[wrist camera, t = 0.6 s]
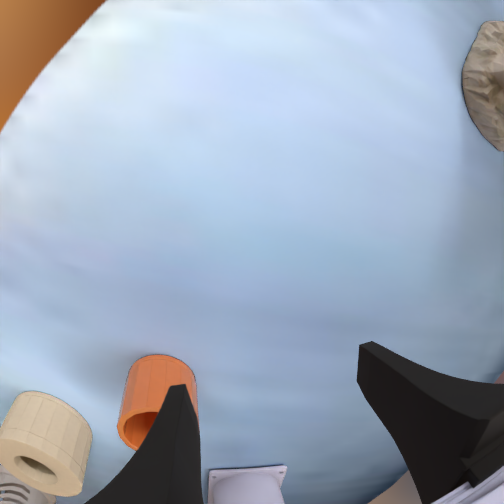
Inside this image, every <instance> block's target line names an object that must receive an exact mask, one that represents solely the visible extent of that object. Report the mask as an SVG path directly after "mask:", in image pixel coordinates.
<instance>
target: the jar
mask: <svg viewBox="0 0 504 504" xmlns="http://www.w3.org/2000/svg"><path fill="white" fill-rule="evenodd" d="M91 442H92V432H91V429H90V427H89V425H88V423H87V422H86V420H85V419H84V418H83V417H82V416H81V415H80V414H79V413H78V412H77V411H76V410H75V409H74V408H72V407H71V406H69V405H68V404H67V403H65V402H63V401H62V400H60V399H58V398H56V397H53V396H51V395H48V394H45V393H41V392H36V391H28V392H23V393H21V394H19V395H18V396H17V397H16V399H15V400H14V402H13V404H12V406H11V408H10V410H9V412H8V414H7V416H6V418H5V420H4V422H3V424H2V426H1V428H0V463H1V464H2V465H3V466H4V467H5V468H6V469H7V470H8V471H9V472H10V473H11V474H12V475H14V476H15V477H16V478H18V479H19V480H20V481H22V482H24V483H26V484H27V485H29V486H31V487H33V488H35V489H37V490H40V491H42V492H45V493H48V494H52V495H56V496H66V497H67V496H68V497H69V496H75V495H77V494H79V493H80V492H81V491H82V486H83V480H84V475H85V470H86V465H87V461H88V456H89V451H90V447H91Z"/></svg>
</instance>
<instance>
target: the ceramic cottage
mask: <svg viewBox="0 0 504 504" xmlns="http://www.w3.org/2000/svg"><path fill="white" fill-rule="evenodd" d="M462 79H463V84H462V85H463V87H462V88H463V91H464V98H465V101H466V106H467V107H468V110H469V114H470V116H471V118H472V120H473V121H474V123H475V124H476V127H478V129H479V130H480V132H481V133H482V135H483V136H485V138H486V139H487V140H489V142H490V143H491V144H493V146H495V147H496V148H497V149H498V150H499V151H504V21H486V22H484V23H483V25H481V28H480V30H479V32H478V37H476V40H475V41H474V43H473V45H472V47H471V51H470V52H469V53H468V56H467V58H466V62H465V64H464V66H463V72H462Z"/></svg>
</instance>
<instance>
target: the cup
mask: <svg viewBox="0 0 504 504" xmlns="http://www.w3.org/2000/svg"><path fill="white" fill-rule="evenodd" d="M180 384H186V387H187V390H188V393H189V396H190V398H191V401H192V404H193V407H194V410H195V413H196V415H197V419H198V426H199V417H198V403H197V387H196V380H195V376H194V374H193V372H192V370H191V369H190V368H189V367H188V366H187V365H186V364H185V363H183V362H182V361H180V360H178V359H176V358H174V357H170V356H166V355H150V356H146V357H143V358H141V359H139V360H137V361H136V362H135V363H134V364H133V365H132V366H131V368H130V369H129V372H128V376H127V379H126V383H125V388H124V393H123V397H122V402H121V407H120V412H119V418H118V423H117V429H118V433H119V436H120V438H121V439H122V440H123V441H124V443H125V444H126V445H127V446H129V447H130V448H132V449H133V450H135V451H137V450H138V448H139V447H140V445H141V444H142V442H143V440H144V439H145V437H146V435H147V433H148V432H149V430H150V428H151V426H152V425H153V423H154V421H155V419H156V416H157V414H158V412H159V410H160V408H161V406H162V404H163V401H164V399H165V396H166V394H167V391H168V388H169V387H170V386H172V385H180ZM199 434H200V430H199Z"/></svg>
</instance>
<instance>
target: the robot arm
mask: <svg viewBox="0 0 504 504" xmlns="http://www.w3.org/2000/svg"><path fill="white" fill-rule="evenodd" d="M357 382H358V384H359V386H360V389H361V391H362V393H363V394H364V396H365V398H366V400H367V401H368V403H369V404H370V406H371V407H372V409H373V410H374V412H375V413H376V414H377V416H378V417H379V419H380V420H381V421H382V423H383V424H384V426H385V427H386V429H387V430H388V431H389V433H390V434H391V436H392V438H393V439H394V441H395V443H396V445H397V446H398V448H399V450H400V452H401V454H402V456H403V458H404V460H405V462H406V465H407V467H408V469H409V471H410V473H411V476H412V478H413V480H414V483H415V485H416V488H417V490H418V493H419V496H420V499H421V502H422V504H504V384H492V383H482V382H475V381H469V380H464V379H460V378H456V377H452V376H448V375H445V374H442V373H439V372H436V371H433V370H431V369H428V368H426V367H424V366H421V365H419V364H417V363H414V362H412V361H410V360H408V359H406V358H404V357H402V356H400V355H398V354H396V353H394V352H392V351H391V350H389V349H387V348H385V347H383V346H381V345H379V344H377V343H375V342H373V341H371V342H367V343H364V344H361V345H359V358H358V371H357ZM286 471H287V467H286V466H285V465H281V466H272V467H261V468H248V469H228V470H211V471H210V472H209V486H208V504H285V503H284V500H283V497H282V494H281V490H280V487H281V484H282V481H283V479H284V476H285V474H286ZM84 504H204V503H203V497H202V488H201V456H200V434H199V426H198V419H197V415H196V413H195V410H194V407H193V404H192V401H191V398H190V396H189V393H188V390H187V387H186V384H180V385H172V386H170V387H169V388H168V391H167V394H166V396H165V399H164V401H163V404H162V406H161V408H160V410H159V412H158V414H157V416H156V419H155V421H154V423H153V425H152V426H151V428H150V430H149V432H148V433H147V435H146V437H145V439H144V440H143V442H142V444H141V445H140V447H139V448H138V450H137V451H136V453H135V454H134V455H133V457H132V458H131V459H130V461H129V462H128V463H127V464H126V466H125V467H124V468H123V469H122V470H121V471H120V473H119V474H118V475H117V476H116V477H115V478H114V479H113V480H112V481H111V482H110V483H109V484H108V485H107V486H106V487H105V488H104V489H102V490H101V491H100V492H99V493H98V494H96V495H95V496H94V497H92V498H91V499H90V500H88V501H87V502H86V503H84Z"/></svg>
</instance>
